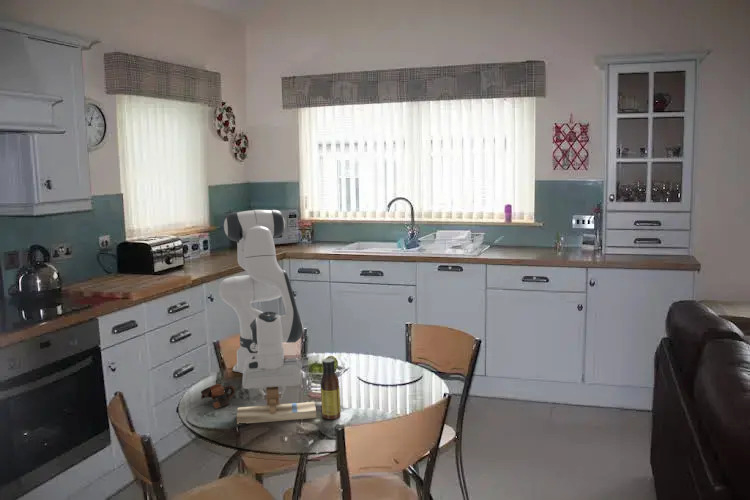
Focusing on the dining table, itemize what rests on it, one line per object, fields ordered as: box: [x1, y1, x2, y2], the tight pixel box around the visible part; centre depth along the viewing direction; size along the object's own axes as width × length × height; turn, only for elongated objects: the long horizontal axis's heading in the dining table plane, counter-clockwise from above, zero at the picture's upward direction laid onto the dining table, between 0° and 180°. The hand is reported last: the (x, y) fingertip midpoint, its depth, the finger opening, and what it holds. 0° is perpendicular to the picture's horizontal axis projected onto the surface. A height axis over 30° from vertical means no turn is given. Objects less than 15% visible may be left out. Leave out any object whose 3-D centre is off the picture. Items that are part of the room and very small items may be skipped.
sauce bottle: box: [320, 357, 342, 420], centre depth 226 cm, size 7×6×20 cm
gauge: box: [265, 387, 280, 413], centre depth 230 cm, size 15×4×8 cm, turn 8°
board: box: [236, 401, 317, 425], centre depth 229 cm, size 8×26×3 cm, turn 98°
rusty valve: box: [200, 383, 236, 409], centre depth 242 cm, size 12×10×8 cm
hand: (272, 398), depth 235 cm, fingers closed on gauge, 4 cm apart
